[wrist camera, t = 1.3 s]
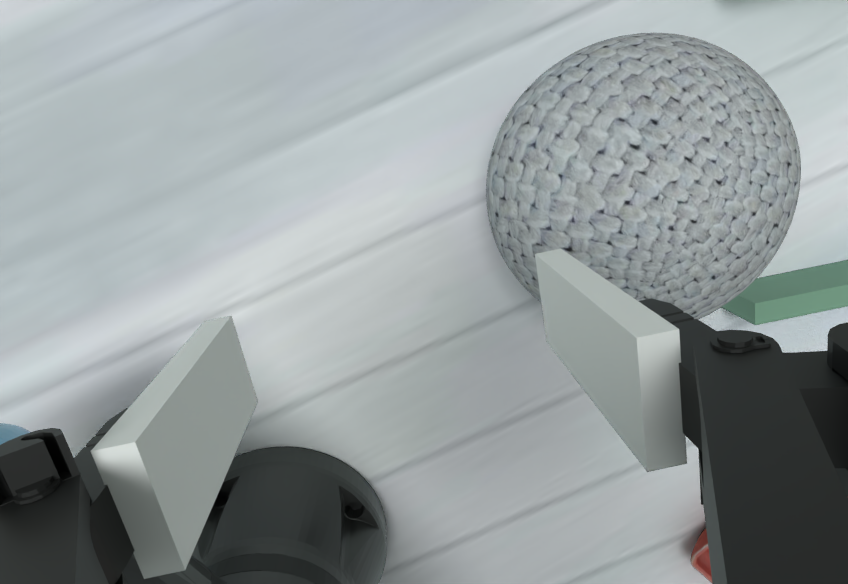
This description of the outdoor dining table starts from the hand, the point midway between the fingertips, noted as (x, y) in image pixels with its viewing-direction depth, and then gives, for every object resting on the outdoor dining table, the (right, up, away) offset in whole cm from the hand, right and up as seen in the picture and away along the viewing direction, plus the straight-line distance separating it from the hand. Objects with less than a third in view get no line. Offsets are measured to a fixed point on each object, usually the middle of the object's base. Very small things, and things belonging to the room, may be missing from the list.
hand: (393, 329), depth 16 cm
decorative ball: (+11, +9, +21) cm, 25 cm away
